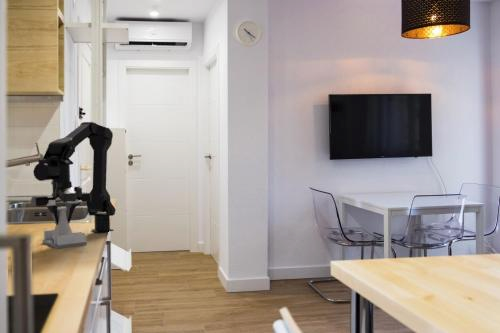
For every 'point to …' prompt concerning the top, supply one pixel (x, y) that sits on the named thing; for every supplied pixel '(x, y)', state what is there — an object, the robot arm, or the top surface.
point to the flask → (62, 223)
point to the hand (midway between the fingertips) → (62, 224)
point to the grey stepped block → (64, 239)
